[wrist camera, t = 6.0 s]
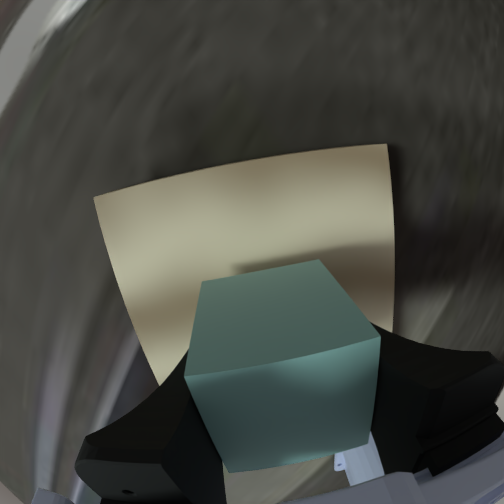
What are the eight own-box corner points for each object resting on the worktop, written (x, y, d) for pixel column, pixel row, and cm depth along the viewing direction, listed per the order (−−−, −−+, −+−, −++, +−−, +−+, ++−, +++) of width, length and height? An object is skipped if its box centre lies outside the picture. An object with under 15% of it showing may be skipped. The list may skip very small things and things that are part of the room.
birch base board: (373, 353, 19) (387, 374, 17) (179, 391, 19) (175, 416, 17) (365, 144, 15) (386, 143, 13) (112, 190, 15) (93, 197, 12)
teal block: (326, 352, 14) (368, 444, 8) (227, 371, 14) (228, 473, 8) (318, 259, 13) (380, 336, 7) (201, 281, 13) (184, 376, 7)
